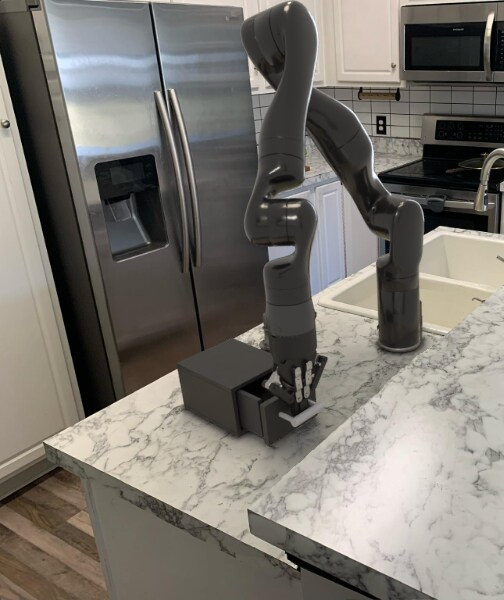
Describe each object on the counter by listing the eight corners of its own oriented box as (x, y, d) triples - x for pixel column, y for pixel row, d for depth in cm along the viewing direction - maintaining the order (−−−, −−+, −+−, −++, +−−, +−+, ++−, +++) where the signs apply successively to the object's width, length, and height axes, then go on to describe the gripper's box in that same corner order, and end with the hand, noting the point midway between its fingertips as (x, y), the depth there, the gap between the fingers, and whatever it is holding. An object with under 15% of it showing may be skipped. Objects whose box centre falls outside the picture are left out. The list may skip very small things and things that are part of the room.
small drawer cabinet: (291, 404, 115) (286, 359, 111) (237, 437, 105) (230, 389, 102) (238, 380, 123) (232, 337, 120) (184, 408, 114) (176, 363, 111)
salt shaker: (282, 365, 129) (276, 313, 124) (256, 363, 130) (249, 311, 125) (292, 352, 134) (287, 302, 129) (266, 350, 135) (261, 300, 130)
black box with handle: (336, 424, 107) (333, 385, 104) (288, 457, 99) (283, 416, 96) (264, 390, 118) (259, 354, 115) (215, 417, 110) (209, 380, 106)
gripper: (305, 304, 103) (312, 393, 110) (242, 332, 93) (255, 427, 100) (337, 315, 99) (343, 406, 105) (275, 345, 89) (286, 444, 96)
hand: (300, 416), depth 103 cm, fingers closed
